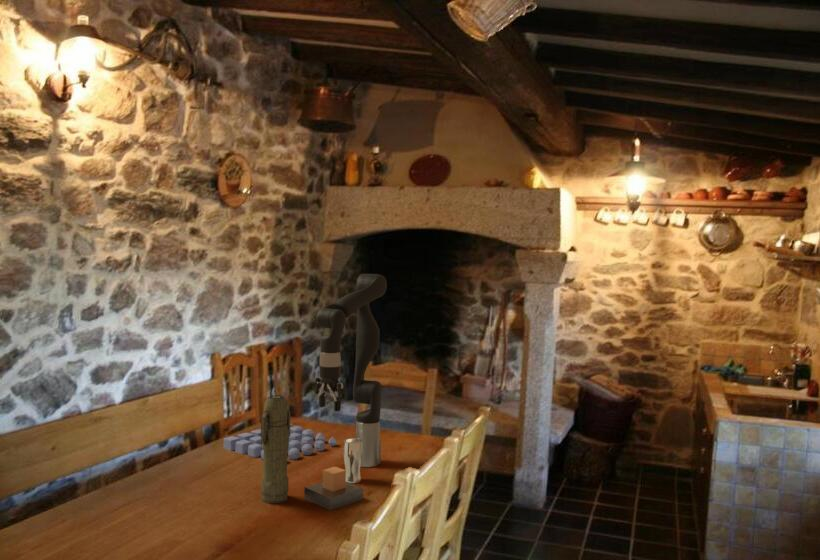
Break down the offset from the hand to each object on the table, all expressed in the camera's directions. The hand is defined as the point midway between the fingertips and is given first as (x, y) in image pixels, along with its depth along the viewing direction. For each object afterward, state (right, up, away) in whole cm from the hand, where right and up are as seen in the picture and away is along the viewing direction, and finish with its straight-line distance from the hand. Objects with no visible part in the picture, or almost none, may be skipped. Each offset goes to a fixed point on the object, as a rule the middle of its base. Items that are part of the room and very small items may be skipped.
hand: (329, 408), depth 251 cm
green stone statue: (-17, -28, -14) cm, 36 cm away
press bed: (+3, -28, -13) cm, 31 cm away
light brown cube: (+3, -24, -13) cm, 28 cm away
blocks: (-25, -26, +45) cm, 58 cm away
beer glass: (+8, -28, +6) cm, 29 cm away
